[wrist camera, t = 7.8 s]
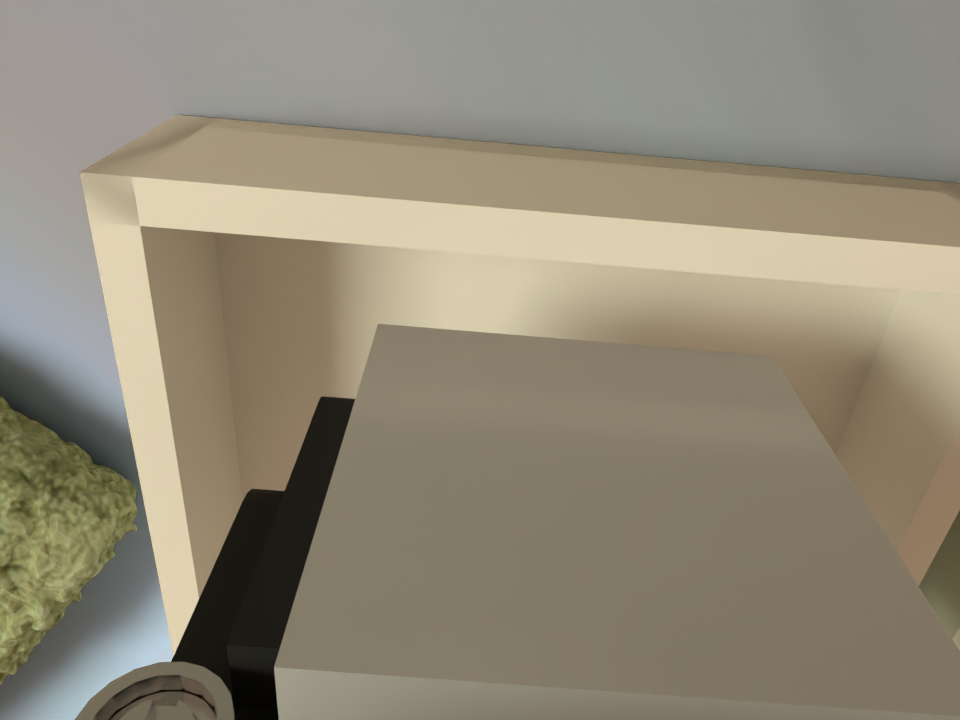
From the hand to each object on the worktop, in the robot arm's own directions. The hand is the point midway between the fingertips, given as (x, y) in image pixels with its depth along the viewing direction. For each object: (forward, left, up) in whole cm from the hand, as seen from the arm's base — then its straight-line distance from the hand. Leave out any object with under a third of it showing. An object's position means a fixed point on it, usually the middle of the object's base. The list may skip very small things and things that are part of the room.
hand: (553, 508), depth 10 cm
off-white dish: (+4, 0, -4) cm, 5 cm away
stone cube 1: (0, 0, 0) cm, 0 cm away
